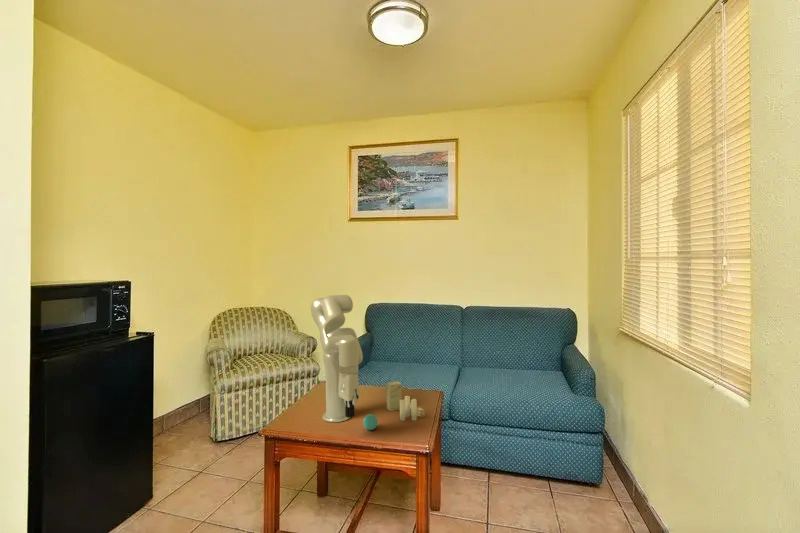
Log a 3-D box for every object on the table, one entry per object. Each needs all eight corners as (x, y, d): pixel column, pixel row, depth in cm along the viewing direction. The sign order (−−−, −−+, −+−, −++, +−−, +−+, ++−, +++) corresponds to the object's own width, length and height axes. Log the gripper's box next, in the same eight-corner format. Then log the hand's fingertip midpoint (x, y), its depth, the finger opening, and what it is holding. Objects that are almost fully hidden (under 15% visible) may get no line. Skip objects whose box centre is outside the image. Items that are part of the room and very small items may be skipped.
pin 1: (403, 415, 166) (403, 396, 166) (408, 414, 168) (407, 395, 168) (406, 417, 164) (406, 398, 164) (411, 415, 166) (411, 396, 166)
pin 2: (410, 419, 162) (409, 399, 162) (414, 417, 163) (414, 398, 164) (413, 421, 160) (413, 401, 160) (417, 419, 161) (417, 400, 162)
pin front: (398, 419, 162) (398, 400, 162) (403, 418, 163) (403, 399, 163) (402, 421, 160) (401, 401, 160) (406, 420, 161) (406, 400, 161)
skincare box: (389, 411, 171) (389, 385, 171) (386, 408, 175) (385, 382, 175) (402, 409, 174) (401, 383, 174) (398, 406, 178) (398, 380, 178)
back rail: (406, 409, 174) (406, 402, 174) (409, 408, 174) (409, 402, 174) (422, 417, 164) (421, 410, 164) (424, 416, 164) (424, 410, 164)
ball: (360, 428, 153) (360, 414, 153) (373, 425, 157) (373, 410, 157) (367, 433, 148) (367, 418, 148) (380, 430, 152) (380, 415, 152)
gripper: (332, 367, 151) (333, 413, 151) (348, 374, 139) (349, 424, 138) (349, 364, 155) (350, 409, 155) (366, 371, 143) (367, 419, 142)
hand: (350, 416), depth 146 cm, fingers closed
